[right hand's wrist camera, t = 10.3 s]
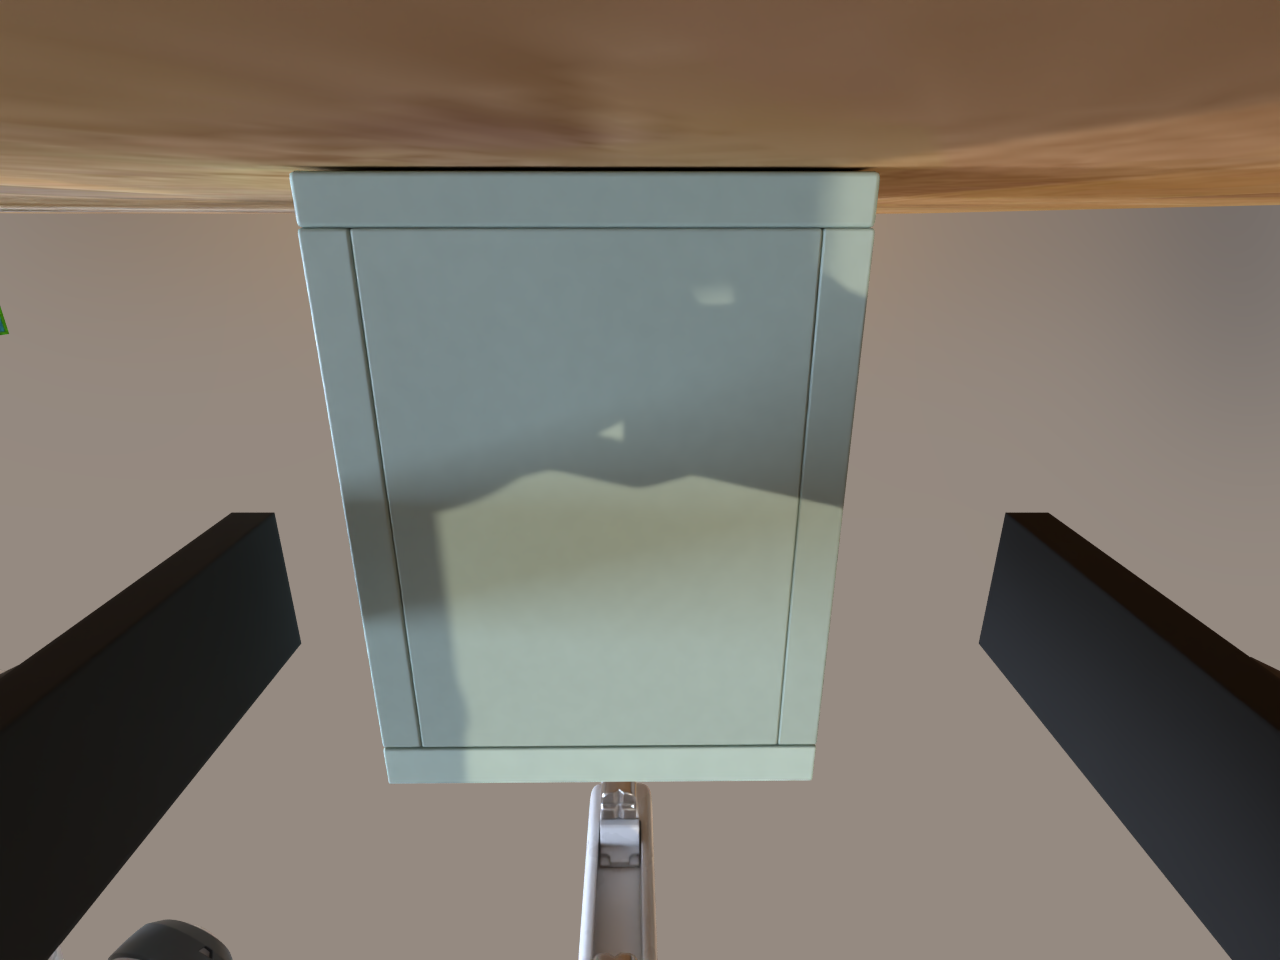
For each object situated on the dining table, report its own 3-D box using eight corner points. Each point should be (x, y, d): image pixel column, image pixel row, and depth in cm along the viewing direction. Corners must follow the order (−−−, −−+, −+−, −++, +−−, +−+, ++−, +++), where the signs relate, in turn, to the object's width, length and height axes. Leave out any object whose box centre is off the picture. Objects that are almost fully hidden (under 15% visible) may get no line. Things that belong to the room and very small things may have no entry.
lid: (730, 498, 28) (720, 674, 31) (500, 499, 28) (514, 676, 31) (816, 746, 15) (786, 1011, 18) (382, 750, 15) (426, 1014, 18)
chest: (747, 196, 23) (732, 503, 27) (472, 196, 23) (497, 504, 27) (882, 171, 11) (816, 745, 15) (286, 170, 11) (382, 748, 15)
